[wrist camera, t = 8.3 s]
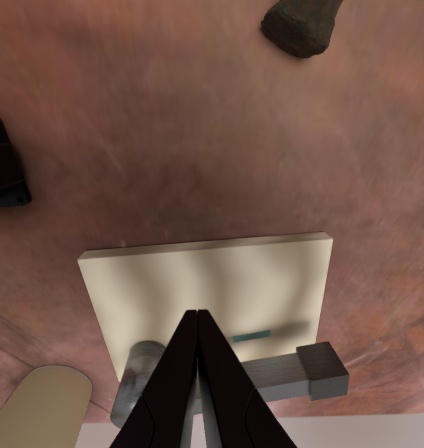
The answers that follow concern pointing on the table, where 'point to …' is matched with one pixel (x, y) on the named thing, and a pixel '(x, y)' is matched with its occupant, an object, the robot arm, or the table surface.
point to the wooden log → (301, 25)
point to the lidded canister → (46, 409)
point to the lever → (256, 369)
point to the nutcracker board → (211, 292)
